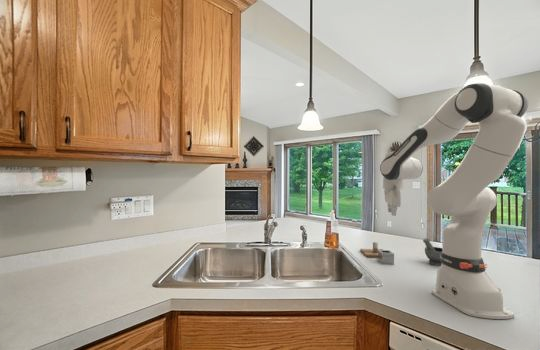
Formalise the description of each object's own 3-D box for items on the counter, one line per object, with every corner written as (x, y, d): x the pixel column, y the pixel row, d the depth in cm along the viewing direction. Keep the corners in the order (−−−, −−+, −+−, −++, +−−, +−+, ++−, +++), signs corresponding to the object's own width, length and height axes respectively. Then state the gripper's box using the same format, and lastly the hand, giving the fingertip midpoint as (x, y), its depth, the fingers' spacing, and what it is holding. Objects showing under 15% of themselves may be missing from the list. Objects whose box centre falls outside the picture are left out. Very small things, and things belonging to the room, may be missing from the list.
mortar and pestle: (440, 260, 130) (441, 236, 130) (453, 267, 120) (454, 241, 120) (417, 260, 130) (418, 236, 130) (428, 266, 121) (429, 240, 121)
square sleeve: (394, 264, 124) (394, 253, 124) (381, 263, 124) (382, 253, 124) (389, 260, 129) (389, 250, 129) (377, 260, 130) (377, 249, 130)
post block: (391, 258, 132) (391, 246, 132) (367, 257, 133) (367, 245, 133) (382, 251, 144) (382, 240, 144) (360, 250, 145) (360, 239, 145)
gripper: (405, 186, 115) (403, 218, 116) (395, 184, 135) (394, 211, 135) (389, 186, 117) (388, 217, 117) (382, 183, 137) (381, 210, 137)
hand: (391, 213), depth 126 cm, fingers open, 8 cm apart
